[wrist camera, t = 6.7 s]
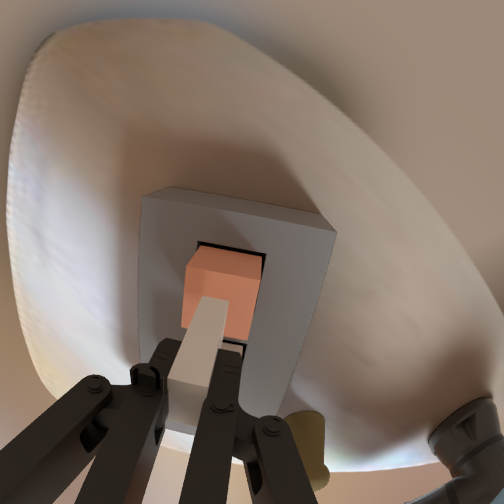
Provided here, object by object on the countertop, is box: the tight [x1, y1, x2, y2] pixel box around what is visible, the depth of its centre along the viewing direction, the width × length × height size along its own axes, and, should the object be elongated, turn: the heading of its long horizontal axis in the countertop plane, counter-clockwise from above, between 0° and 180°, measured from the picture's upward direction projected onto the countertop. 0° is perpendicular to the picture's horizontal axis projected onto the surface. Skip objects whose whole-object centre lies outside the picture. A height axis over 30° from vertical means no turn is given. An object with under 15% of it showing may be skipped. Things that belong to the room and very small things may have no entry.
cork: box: [284, 411, 330, 492], centre depth 29 cm, size 6×6×11 cm
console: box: [138, 187, 337, 436], centre depth 27 cm, size 14×26×6 cm, turn 170°
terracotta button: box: [181, 245, 262, 340], centre depth 19 cm, size 4×4×4 cm
